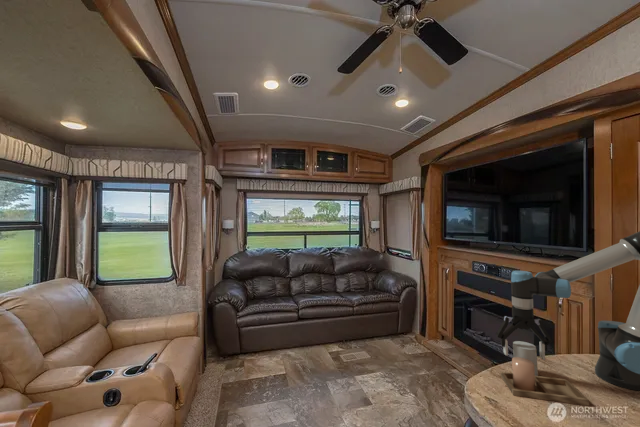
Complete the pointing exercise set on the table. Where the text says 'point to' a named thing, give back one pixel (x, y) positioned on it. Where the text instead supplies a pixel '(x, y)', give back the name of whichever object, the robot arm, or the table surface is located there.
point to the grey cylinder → (526, 352)
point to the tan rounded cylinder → (523, 374)
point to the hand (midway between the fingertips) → (523, 356)
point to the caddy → (548, 390)
